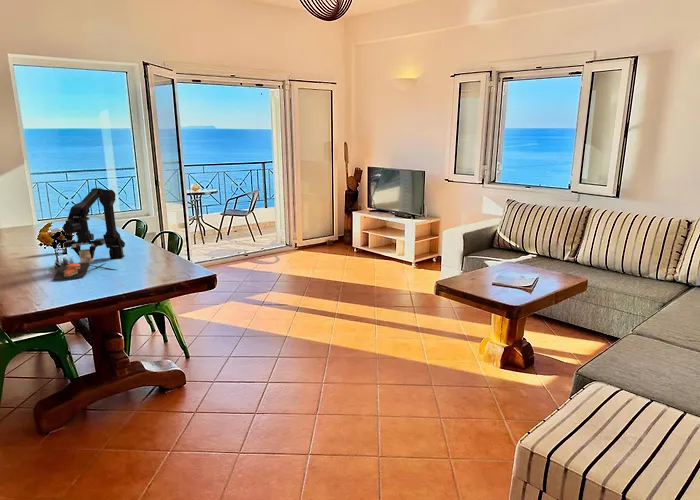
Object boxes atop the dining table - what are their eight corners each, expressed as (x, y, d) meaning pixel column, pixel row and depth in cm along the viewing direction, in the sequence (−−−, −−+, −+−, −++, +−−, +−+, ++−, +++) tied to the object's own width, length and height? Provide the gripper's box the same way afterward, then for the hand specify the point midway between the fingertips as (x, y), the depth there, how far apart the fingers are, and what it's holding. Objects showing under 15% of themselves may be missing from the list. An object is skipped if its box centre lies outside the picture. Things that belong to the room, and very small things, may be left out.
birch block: (94, 259, 256) (92, 248, 255) (90, 262, 251) (88, 250, 250) (84, 260, 255) (82, 249, 254) (80, 262, 251) (78, 251, 249)
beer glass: (62, 254, 289) (58, 230, 286) (52, 254, 291) (48, 230, 287) (71, 251, 296) (66, 228, 292) (61, 251, 297) (57, 227, 294)
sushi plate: (61, 268, 262) (59, 261, 261) (121, 261, 273) (120, 255, 272) (52, 283, 236) (51, 276, 235) (119, 275, 247) (118, 268, 247)
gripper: (106, 225, 258) (110, 253, 262) (69, 227, 256) (74, 256, 259) (99, 230, 248) (103, 259, 252) (60, 232, 245) (65, 261, 249)
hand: (87, 258), depth 253 cm, fingers closed on birch block, 5 cm apart
